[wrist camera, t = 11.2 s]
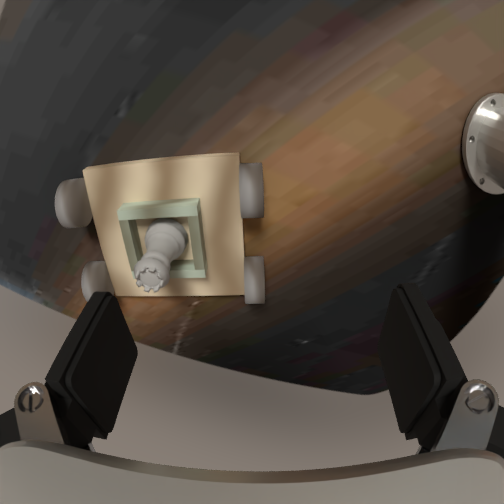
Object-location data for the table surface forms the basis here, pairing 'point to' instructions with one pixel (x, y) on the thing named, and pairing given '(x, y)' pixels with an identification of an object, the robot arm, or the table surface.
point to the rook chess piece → (160, 253)
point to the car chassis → (174, 207)
